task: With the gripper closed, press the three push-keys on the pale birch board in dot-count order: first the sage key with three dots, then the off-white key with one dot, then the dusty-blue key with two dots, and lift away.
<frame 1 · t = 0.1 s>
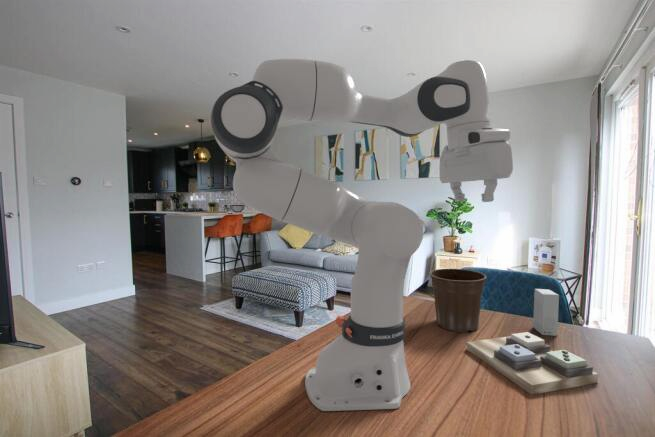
hand: (473, 201, 72), 39 cm above the table, tool pointing down, fingers open, 8 cm apart
two dot key: (517, 353, 74), point 4 cm above the table, slide at 0.0 cm
plant pot: (456, 325, 100), on the table
one dot key: (527, 340, 80), point 4 cm above the table, slide at 0.0 cm
three dot key: (565, 359, 71), point 4 cm above the table, slide at 0.0 cm
skincare box: (544, 332, 95), on the table
key board: (525, 364, 76), on the table
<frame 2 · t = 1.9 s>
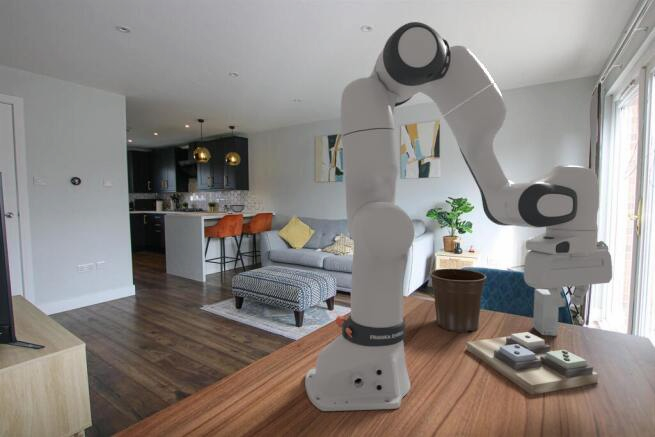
hand: (567, 305, 70), 16 cm above the table, tool pointing down, fingers open, 3 cm apart
nothing on the table moved.
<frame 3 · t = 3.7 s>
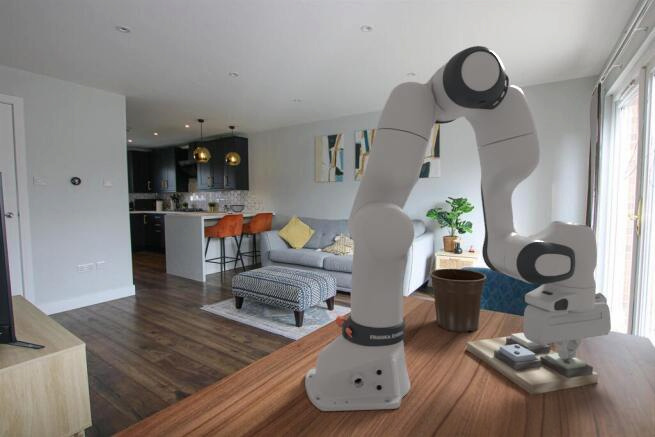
hand: (566, 357, 71), 4 cm above the table, tool pointing down, fingers closed, pressing on three dot key
three dot key: (565, 362, 71), point 3 cm above the table, slide at 0.6 cm, touching gripper
everything else where it was.
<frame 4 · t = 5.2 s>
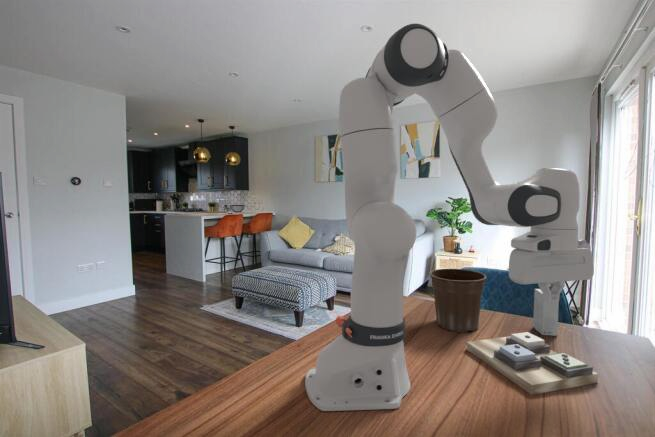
hand: (550, 300, 74), 16 cm above the table, tool pointing down, fingers closed
three dot key: (565, 363, 71), point 3 cm above the table, slide at 0.8 cm
everything else where it was.
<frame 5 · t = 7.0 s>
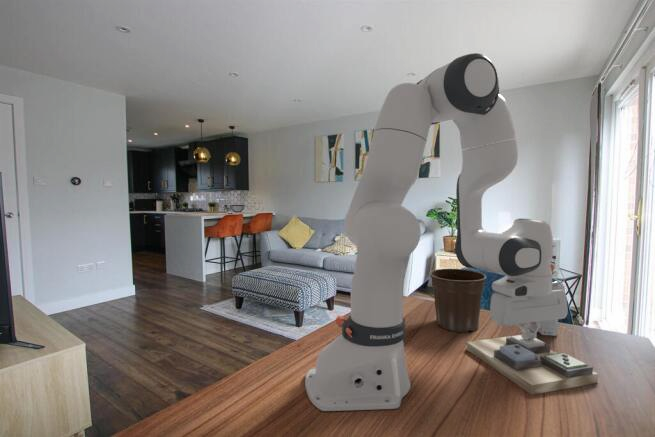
hand: (528, 338, 80), 4 cm above the table, tool pointing down, fingers closed, pressing on one dot key
one dot key: (527, 342, 80), point 3 cm above the table, slide at 0.6 cm, touching gripper
everything else where it was.
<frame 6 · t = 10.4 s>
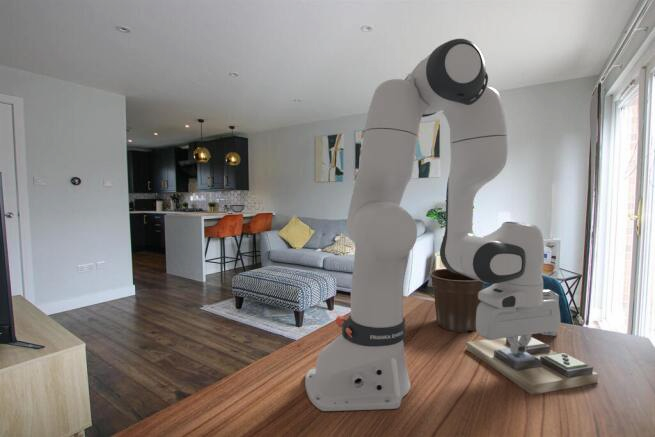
hand: (518, 352, 74), 4 cm above the table, tool pointing down, fingers closed, pressing on two dot key
two dot key: (516, 356, 74), point 3 cm above the table, slide at 0.8 cm, touching gripper
one dot key: (527, 343, 80), point 3 cm above the table, slide at 0.8 cm
everything else where it was.
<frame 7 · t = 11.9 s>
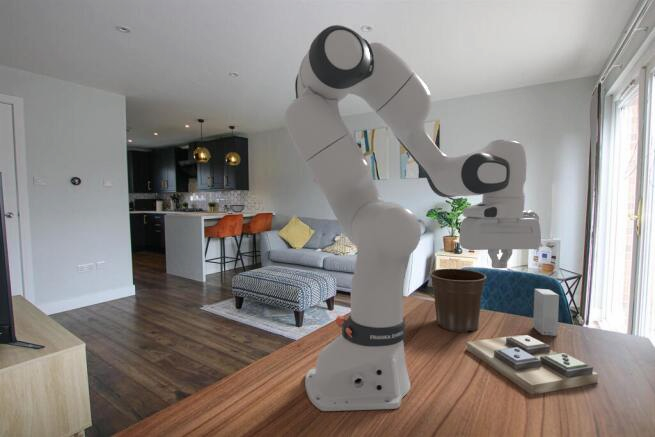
hand: (499, 267, 77), 23 cm above the table, tool pointing down, fingers closed
two dot key: (516, 356, 74), point 3 cm above the table, slide at 0.8 cm
everything else where it was.
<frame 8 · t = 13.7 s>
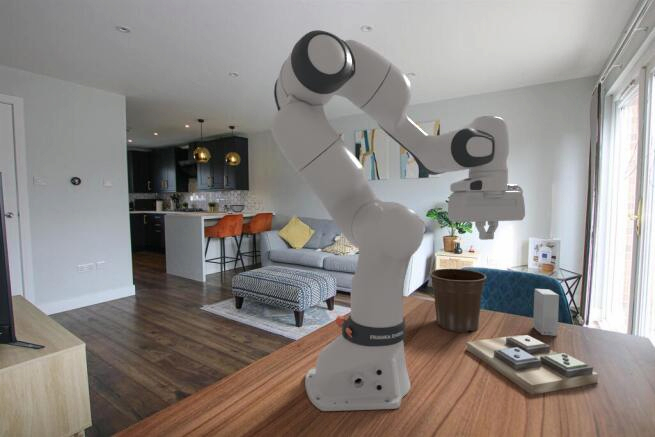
hand: (486, 239, 81), 29 cm above the table, tool pointing down, fingers closed
nothing on the table moved.
at the end: three dot key slide at 0.8 cm; one dot key slide at 0.8 cm; two dot key slide at 0.8 cm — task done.
